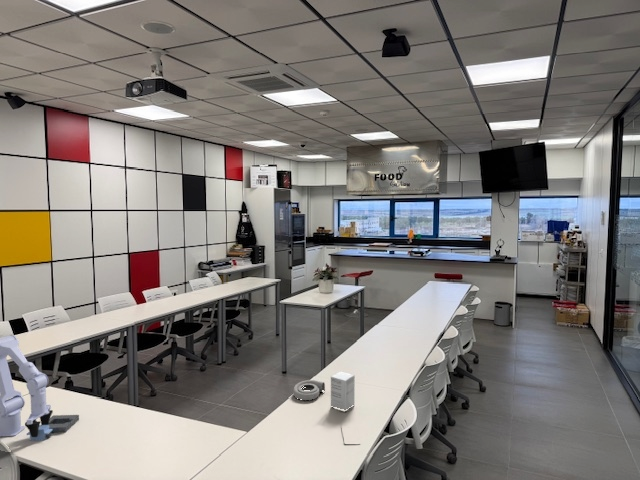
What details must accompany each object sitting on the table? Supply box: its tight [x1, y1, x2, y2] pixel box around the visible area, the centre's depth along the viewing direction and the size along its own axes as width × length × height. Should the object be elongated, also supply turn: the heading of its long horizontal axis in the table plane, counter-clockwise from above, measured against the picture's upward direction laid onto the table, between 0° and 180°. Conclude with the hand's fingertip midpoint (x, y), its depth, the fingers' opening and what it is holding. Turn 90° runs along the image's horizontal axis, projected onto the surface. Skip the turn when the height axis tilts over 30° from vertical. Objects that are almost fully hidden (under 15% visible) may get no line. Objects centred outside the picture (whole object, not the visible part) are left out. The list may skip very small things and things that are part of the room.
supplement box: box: [330, 371, 355, 410], centre depth 216 cm, size 10×9×17 cm
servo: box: [26, 424, 53, 442], centre depth 186 cm, size 9×4×5 cm, turn 94°
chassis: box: [48, 414, 80, 434], centre depth 196 cm, size 12×12×2 cm
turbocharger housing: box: [292, 379, 326, 401], centre depth 231 cm, size 17×6×15 cm
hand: (39, 432), depth 186 cm, fingers open, 7 cm apart
